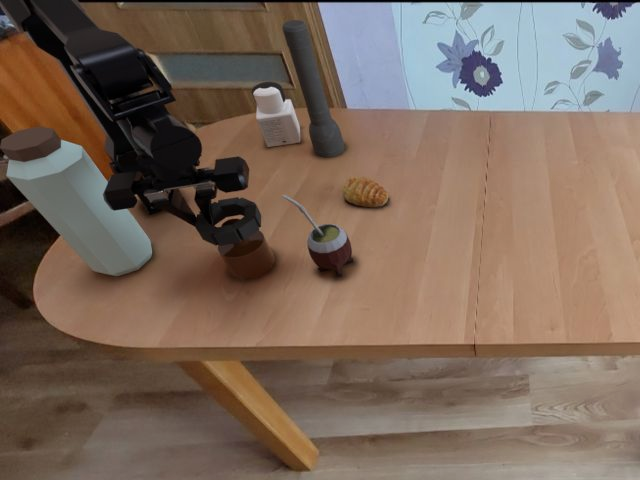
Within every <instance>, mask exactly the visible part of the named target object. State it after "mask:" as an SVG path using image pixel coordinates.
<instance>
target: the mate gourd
mask: <svg viewBox="0 0 640 480" xmlns="http://www.w3.org/2000/svg"><path fill="white" fill-rule="evenodd" d="M281 197H282V198H283V199H285V200H287V201H288V202H290V203H292V204H293V205H294V206H295V207H297V208H298V211H300V213H302V215H304V217H305V218H306V219H307V220H308V222H309V223H310V224H311V226H312V227H313V229H312V230H311V231H310V232H309V235H308V237H307V239H306V243H307V245H306V246H307V249H308V253H309V256H310V258H311V260H312V261H313V263H314V264H315V265H316V266H317V267H318V268H317V271H318V272H319V273H323V272H326V271H330V270H335V273H336V276H337V278H342V277H343V273H342V270H341V267H343V266H347V265H349V264H353V263H354V258H352V253H353V248H352V244H351V240H350V238H349V235H348V234H347V232H346V231H345V230H344V229H343V228H341V227H340V226H339V225H337V224H334V223H324V224H320V225H317V224H316V222H315V221H314V219H312V217H311V216H310V215H309V213H308V211H307V209H306V208H305V207H304V206H303V205H302V204H300V203H298V202H297V201H296V200H295V199H293V198H292V197H289V196H288V195H286V194H284V193H283V194H282V196H281Z"/></svg>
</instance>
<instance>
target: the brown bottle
mask: <svg viewBox="0 0 640 480" xmlns="http://www.w3.org/2000/svg"><path fill="white" fill-rule="evenodd" d="M240 219H241V218H231V219H227V220H225V221H224V222H222V224H221V225H220V227H222V226H227V225H233V224H234V223H236V222H237V221H238V220H240ZM217 251H218V253H219V255H220V257H221V258H222V260H223V262H224V263H225V265H226V267H227V268H228V270H229V272H230V273H231V275H232V276H233V277H234V278H236V279H240V280H251V279H252V280H253V279H255V278H259V277H261V276H263V275H265V274H266V273H268V272H269V271H270V270H271V269H272V267H273V266H274V264H275V259H276V258H275V256H274V254H273V251H272V250H271V247H270V245H269V243H268V240H267V239H266V236H265V235H264V233H263V232H262V231H261V230H260V229H259V230H258V231H257V232H255V233H254V234H253V235H252V236H250V237H249V238H248V239H246V240H245V241H244V240H242V239H241V242H240V243H234V244H229V245H223V246H220V245H219V244H218V245H217Z"/></svg>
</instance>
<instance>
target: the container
mask: <svg viewBox="0 0 640 480" xmlns="http://www.w3.org/2000/svg"><path fill="white" fill-rule="evenodd" d="M251 94H252V97H253V100H254V102H255V104H256V113H255V120H256V122H257V125H258V127H259V130H260V132H261V135H262V137H263V140H264V143H265V145H266V147H267V148H271V147H279V146H286V145H293V144H300V143H301V125H300V123H299V120H298V117H297V114H296V110H295V108H294V105H293V102H292V99H291V98H286V96H285V92H284V89H283V86H282V85H281V84H280V83H279V82H275V81H263V82H261V83H258V84H256V85H254V86H253V87H252V89H251Z"/></svg>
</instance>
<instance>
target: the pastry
mask: <svg viewBox="0 0 640 480" xmlns="http://www.w3.org/2000/svg"><path fill="white" fill-rule="evenodd" d="M341 195H342V197H343V198H344V199H345V200H346V201H347V202H349V203H350V204H353V205H356V206H360V207H365V208H366V207H367V208H377V207H382V206H384V205H385V204H386V203H387V202H388V199H389V193H388V191H387V190H386V189H385V188H384V187H383V186H381V185H380V184H379V183H378V182H375V181H374V180H372V179H371V178H366V177H364V176H361V177H357V176H351V177H349V178H348V179H347V180H346V181H345V184H344V185H343V187H342V194H341Z"/></svg>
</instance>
